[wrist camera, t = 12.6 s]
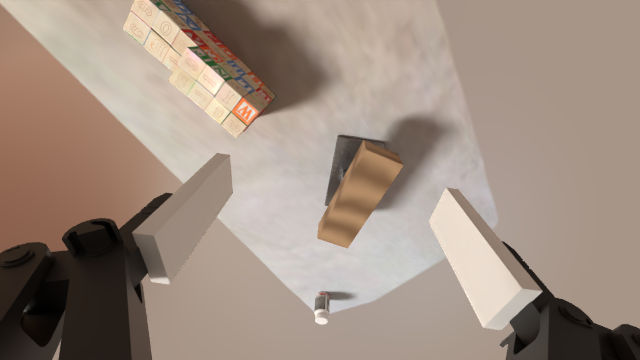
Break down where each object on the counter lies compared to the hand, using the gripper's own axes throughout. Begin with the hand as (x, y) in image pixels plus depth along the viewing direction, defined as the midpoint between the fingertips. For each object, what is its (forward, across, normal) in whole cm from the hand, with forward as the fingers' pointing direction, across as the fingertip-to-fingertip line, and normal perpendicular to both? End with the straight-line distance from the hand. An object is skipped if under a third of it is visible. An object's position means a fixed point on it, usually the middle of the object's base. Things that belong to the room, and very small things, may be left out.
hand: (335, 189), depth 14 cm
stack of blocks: (+35, -22, +1) cm, 41 cm away
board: (+28, +7, -18) cm, 34 cm away
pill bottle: (+35, +7, -66) cm, 75 cm away
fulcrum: (+35, +7, -18) cm, 40 cm away
